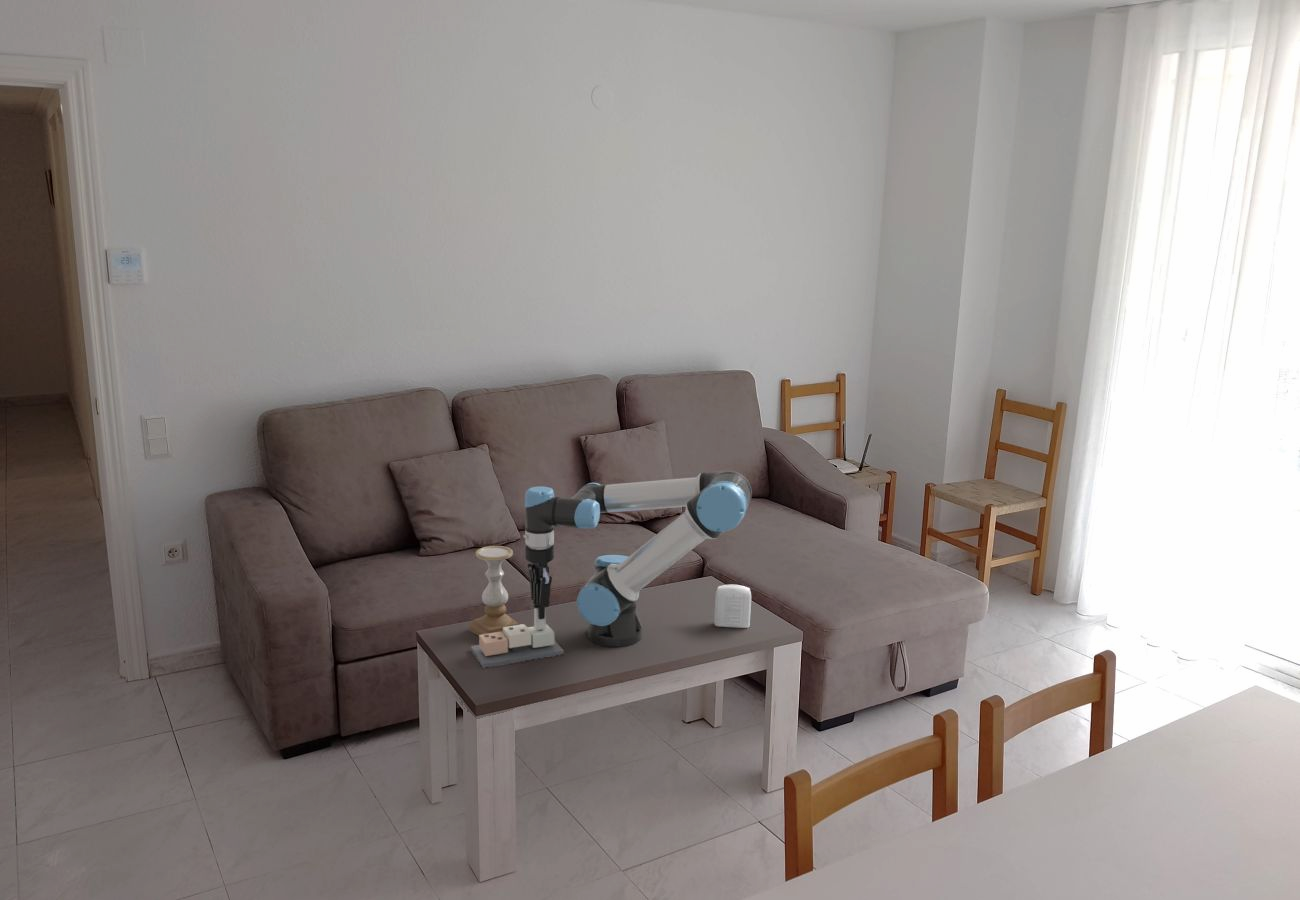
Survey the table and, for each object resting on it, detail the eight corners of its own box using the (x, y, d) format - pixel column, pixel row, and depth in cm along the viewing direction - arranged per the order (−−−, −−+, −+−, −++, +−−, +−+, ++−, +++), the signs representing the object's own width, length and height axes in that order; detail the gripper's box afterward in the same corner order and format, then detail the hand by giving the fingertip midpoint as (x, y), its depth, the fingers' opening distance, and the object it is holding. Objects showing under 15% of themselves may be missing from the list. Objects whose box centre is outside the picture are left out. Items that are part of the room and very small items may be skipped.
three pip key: (501, 643, 274) (500, 630, 273) (507, 652, 269) (507, 639, 268) (479, 647, 272) (479, 634, 271) (485, 656, 267) (485, 642, 266)
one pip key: (547, 636, 280) (547, 623, 279) (554, 644, 274) (554, 631, 273) (526, 639, 277) (525, 626, 276) (533, 648, 272) (533, 635, 271)
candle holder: (468, 630, 287) (467, 549, 282) (503, 621, 294) (501, 542, 288) (488, 643, 279) (486, 560, 273) (522, 634, 285) (521, 553, 280)
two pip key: (524, 636, 277) (524, 623, 276) (531, 644, 271) (531, 631, 271) (502, 639, 274) (502, 626, 273) (509, 648, 269) (509, 635, 268)
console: (548, 637, 283) (548, 624, 282) (563, 654, 273) (563, 641, 272) (471, 650, 274) (470, 637, 273) (483, 668, 264) (483, 654, 263)
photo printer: (749, 623, 296) (751, 583, 293) (750, 629, 292) (752, 588, 289) (714, 621, 296) (715, 581, 294) (714, 627, 292) (715, 587, 289)
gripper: (518, 539, 274) (519, 621, 279) (533, 554, 262) (534, 639, 268) (544, 536, 277) (545, 617, 282) (561, 551, 265) (561, 635, 271)
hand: (539, 628), depth 275 cm, fingers closed
